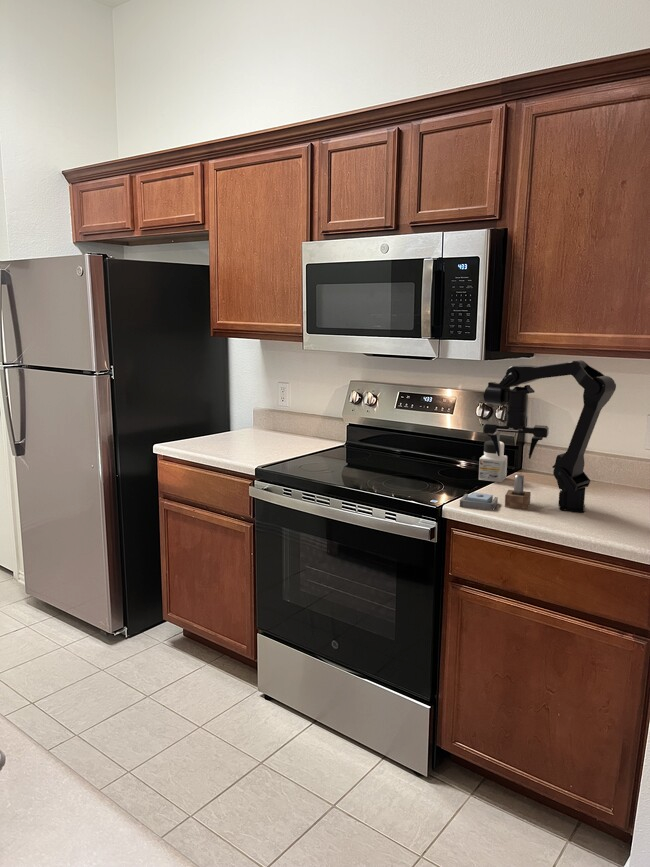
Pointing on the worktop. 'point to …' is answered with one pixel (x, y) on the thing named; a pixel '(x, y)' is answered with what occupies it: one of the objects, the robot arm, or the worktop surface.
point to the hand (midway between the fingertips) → (514, 457)
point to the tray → (478, 503)
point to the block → (480, 497)
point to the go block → (517, 500)
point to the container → (493, 463)
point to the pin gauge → (518, 484)
